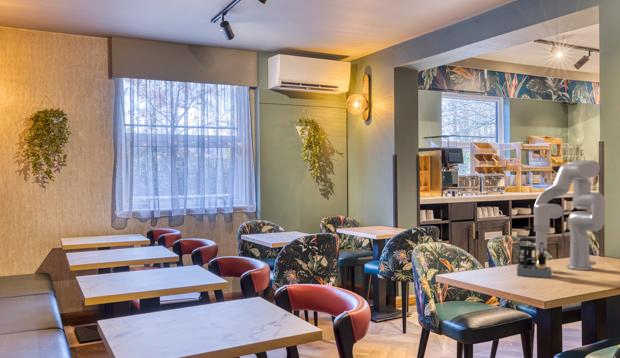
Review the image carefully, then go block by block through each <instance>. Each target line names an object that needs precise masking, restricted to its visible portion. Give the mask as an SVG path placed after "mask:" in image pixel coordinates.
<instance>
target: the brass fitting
mask: <svg viewBox="0 0 620 358" xmlns="http://www.w3.org/2000/svg"><path fill="white" fill-rule="evenodd" d="M536 266H537V269H546V267H547V260H546V259H545V265H541V264H538V259H536Z"/></svg>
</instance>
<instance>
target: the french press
mask: <svg viewBox="0 0 620 358" xmlns="http://www.w3.org/2000/svg"><path fill="white" fill-rule="evenodd" d="M523 229H526V237H525V236H522V237H518V239H519V243H522V242H526V245H520V246H518V265H527V266H537V251H536V246H532V245H531V246H529V245H528V244H529V242H530V243H531V244H536V237H531V236H529V230H530V229H532V227H530V226H525V227H524V226H523ZM521 251H523V255H521ZM533 251H534V256H533ZM521 259H522V260H521ZM533 260H534V262H533Z"/></svg>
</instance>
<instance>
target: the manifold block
mask: <svg viewBox="0 0 620 358" xmlns="http://www.w3.org/2000/svg"><path fill="white" fill-rule="evenodd" d="M516 275H517V277H528V278H544V279H545V278H546V279H552V267H551V266H546V269H537V265H536V266H527V265H519V264H517V266H516Z"/></svg>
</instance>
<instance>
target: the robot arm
mask: <svg viewBox="0 0 620 358" xmlns="http://www.w3.org/2000/svg"><path fill="white" fill-rule="evenodd" d="M600 168H601V165H600V163H599V162H598V161H596V160H592V159H591V160H571V161H568V162H566V163H564V164H562V165H560V166H559V168H558V170H557V173H556V175H555V177H554V179H553V182H552V185H551V186H549V187H548V188H546V189H545V190H544V191H543V192H541V193H540V194H539V195H538V197H537V198H536V200H535V203H534V204H533V205H534V206H533V210H532V213H533V232H535V238H536V240H535V247H536V252H537V251H538V255H537V260H538V264H541V265H545V260H546V255H545V252H546V251H547V244H548V233H550V232H551V229H550V228H551V219H559V218H561V217H562V216H563V214H564V210H563V207H562V206H561V205H560V204H557V203H549V201H551V200H553V199H555V198H558V197H561V196H564V195H566V194H568V192H569V190H570V188H571V186H572V184H573V190H572V193H573V194H572V206H573V207H574V208H575V209H577V210H585V211H572V212H571V213H570V214H569V215H568V218H567V219H568V220H567V221H568V225H569V232H570V233H569V239H570V240H569V247H570V249H569V253H570V254H569V264H566V268H567V269H569V270H570V269H571V270H576V271H592V270H593V266H594V265H595V266H596V264H597V261H594V260H593V261H592V260H590V234H589V233H588V231H587V230H589V231H600V230H601V229H602V228H603V227H604V224H605V208H606V201H605V196H603V194H602V193H600V192H591V186H592V185H591V183H592V182H591V181H590V180H589V179H591V178H594V177H596V176H597V175H598V174H599V173H600ZM586 210H587V211H586ZM588 210H591V211H589V212H588Z"/></svg>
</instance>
